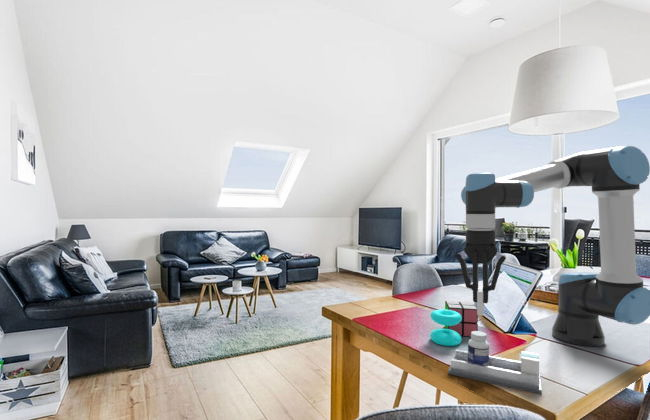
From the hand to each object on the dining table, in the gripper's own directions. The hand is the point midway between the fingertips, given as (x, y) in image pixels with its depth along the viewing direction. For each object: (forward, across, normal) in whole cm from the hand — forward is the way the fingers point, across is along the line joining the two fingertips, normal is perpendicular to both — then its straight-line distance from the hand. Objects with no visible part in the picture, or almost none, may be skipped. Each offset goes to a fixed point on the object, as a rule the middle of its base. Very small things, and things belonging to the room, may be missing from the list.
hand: (480, 314), depth 102 cm
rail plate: (+16, -3, +1) cm, 16 cm away
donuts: (+16, +13, -18) cm, 28 cm away
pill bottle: (+15, +1, +1) cm, 15 cm away
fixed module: (+16, -12, +1) cm, 20 cm away
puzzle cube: (+17, +10, -31) cm, 37 cm away
